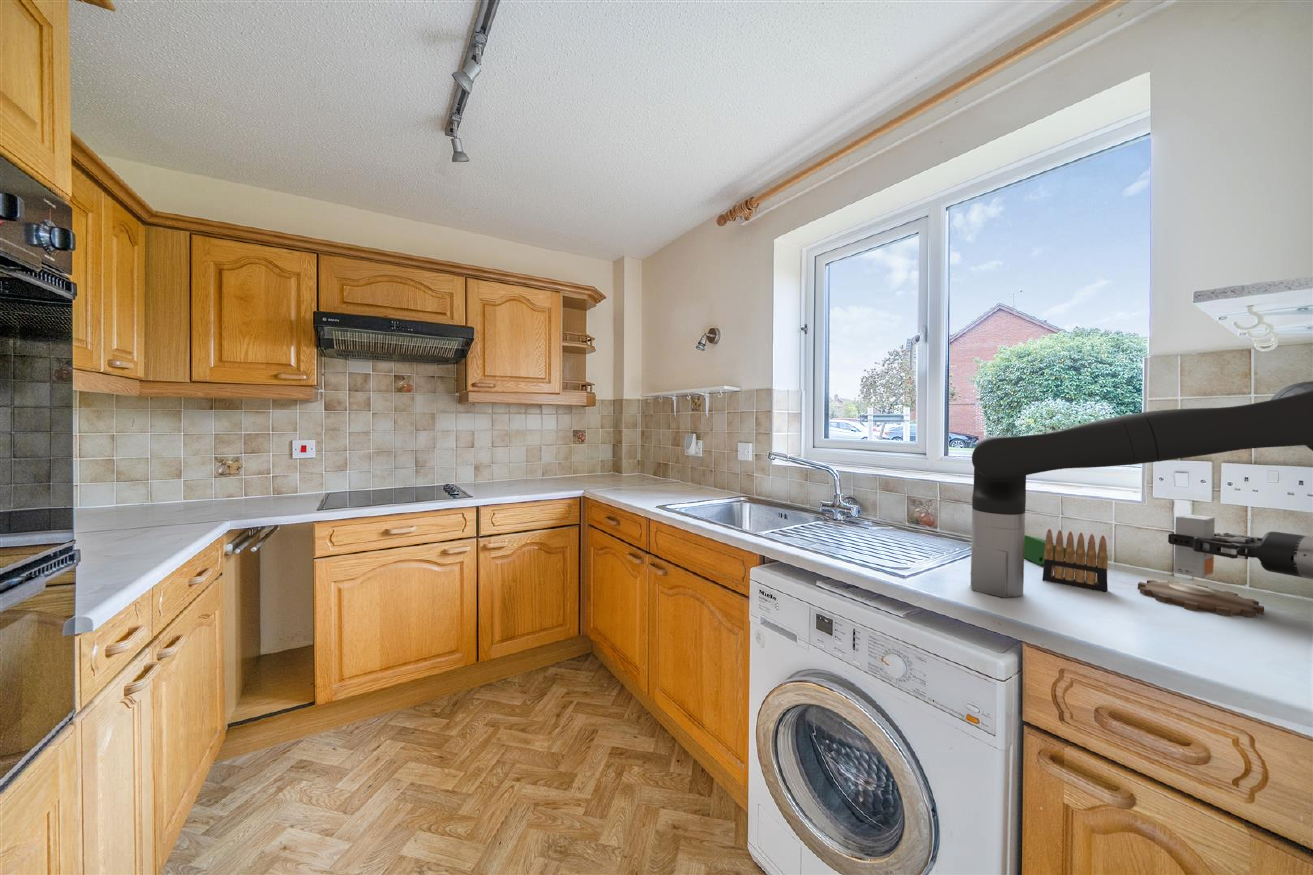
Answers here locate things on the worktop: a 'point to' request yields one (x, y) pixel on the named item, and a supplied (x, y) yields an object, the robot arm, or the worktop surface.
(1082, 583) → the ammunition clip
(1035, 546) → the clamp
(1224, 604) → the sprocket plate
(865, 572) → the worktop surface
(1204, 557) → the skincare box
